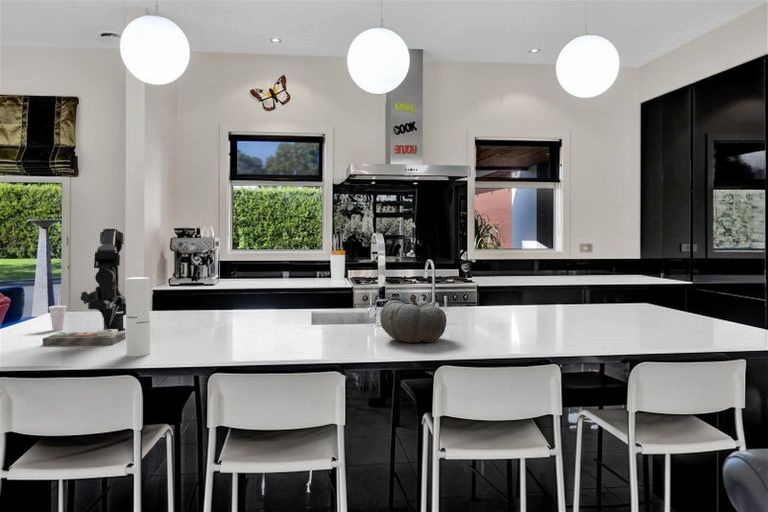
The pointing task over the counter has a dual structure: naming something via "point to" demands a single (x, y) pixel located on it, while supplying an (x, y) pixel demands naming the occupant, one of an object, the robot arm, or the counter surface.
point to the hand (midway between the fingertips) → (107, 325)
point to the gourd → (413, 321)
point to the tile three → (108, 332)
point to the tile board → (84, 340)
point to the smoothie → (57, 316)
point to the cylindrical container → (138, 316)
